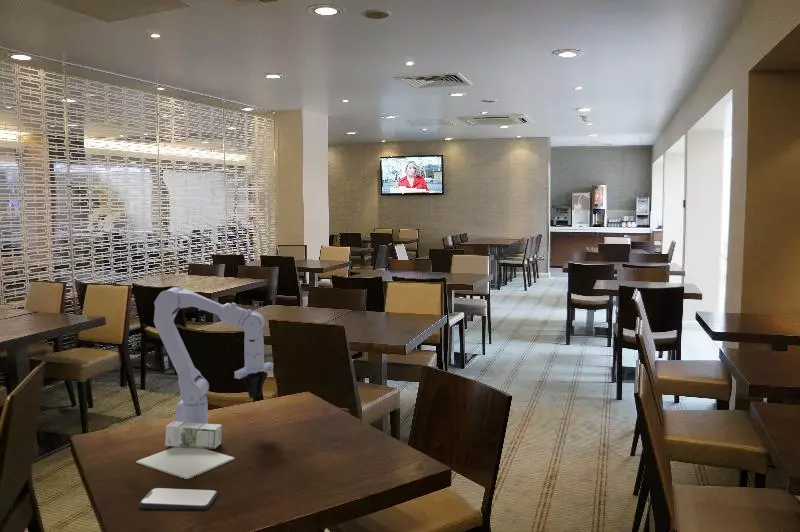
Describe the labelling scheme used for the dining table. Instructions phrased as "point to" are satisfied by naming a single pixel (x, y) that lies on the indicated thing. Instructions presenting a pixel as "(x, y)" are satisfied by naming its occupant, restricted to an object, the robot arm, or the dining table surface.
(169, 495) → the phone case
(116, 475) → the dining table surface
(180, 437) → the syrup box
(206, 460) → the mat
